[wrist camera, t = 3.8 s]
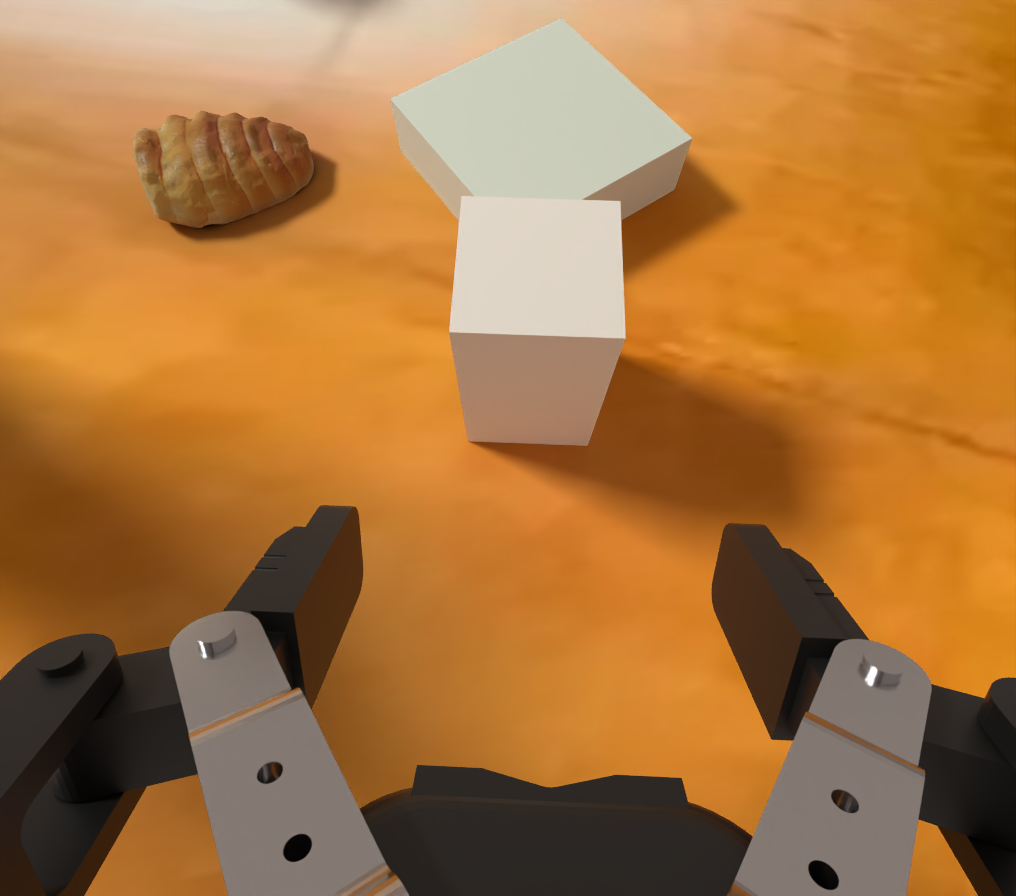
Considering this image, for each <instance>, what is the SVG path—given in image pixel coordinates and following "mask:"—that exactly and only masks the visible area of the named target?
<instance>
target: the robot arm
mask: <svg viewBox="0 0 1016 896" xmlns="http://www.w3.org/2000/svg"><path fill="white" fill-rule="evenodd" d="M362 580H363V559H362V548H361V536H360V524H359V514H358V510H357V508H356V507H352V506H328V505H321V506H320V507H319V508H318V509H317V511H316V512H315V514H314V515H313V517H312V518H311V520H310V521H309V523H308V524H307V526H306V527H293V528H292V529H290V530H289V531H287V532H286V533H284V534H283V535H281V536H280V537H278V538H277V539H275V540H274V542H273V543H272V545H271V546H270V547H269V549H268V550H267V552H266V553H265V554H264V558H261V560H260V561H259V563H258V564H257V565H256V567H255V570H253V571H252V572H251V574H250V575H249V576H248V578H247V579H246V580H245V582H244V583H243V585H242V586H241V587H240V589H239V590H238V592H237V593H236V594H235V596H234V597H233V598H232V600H231V601H230V603H229V604H228V605H227V607H226V608H225V609H224V611H223V612H219V613H214V614H211V615H208V616H205V617H202V618H200V619H198V620H196V621H194V622H192V623H191V624H189V625H188V626H186V627H185V628H184V629H182V630H181V631H180V632H179V633H178V634H177V635H176V637H175V638H174V639H173V641H172V643H171V645H170V647H166V648H161V649H156V650H151V651H145V652H139V653H134V654H128V655H123V656H118V655H117V652H116V648H115V645H114V643H113V642H112V640H111V639H109V638H108V637H106V636H104V635H99V634H79V635H73V636H69V637H65V638H62V639H59V640H56V641H53V642H51V643H49V644H46V645H44V646H42V647H40V648H38V649H37V650H35V651H33V652H32V653H30V654H29V655H27V656H26V657H25V658H23V659H22V660H21V661H20V662H19V663H17V664H16V665H15V666H14V667H13V668H12V669H11V670H10V671H9V672H8V673H7V674H6V675H5V676H4V677H3V678H2V679H1V680H0V896H84V895H85V893H86V891H87V890H88V888H89V886H90V885H91V883H92V881H93V879H94V878H95V876H96V874H97V872H98V871H99V869H100V867H101V865H102V864H103V862H104V860H105V858H106V857H107V855H108V853H109V851H110V850H111V848H112V846H113V844H114V843H115V841H116V839H117V837H118V836H119V834H120V832H121V830H122V829H123V827H124V825H125V824H126V822H127V820H128V818H129V817H130V815H131V813H132V811H133V810H134V808H135V806H136V804H137V803H138V801H139V799H140V797H141V796H142V794H143V792H144V790H145V789H146V787H147V786H150V785H154V784H158V783H162V782H166V781H170V780H175V779H179V778H183V777H187V776H191V775H195V774H198V775H199V779H200V783H201V787H202V791H203V795H204V799H205V803H206V807H207V811H208V815H209V820H210V824H211V828H212V832H213V836H214V840H215V844H216V848H217V852H218V856H219V860H220V864H221V868H222V872H223V876H224V880H225V884H226V889H227V893H228V896H906V892H907V886H908V880H909V873H910V867H911V861H912V855H913V849H914V843H915V837H916V830H917V824H918V819H919V820H922V821H925V822H928V823H931V824H934V825H937V826H938V828H939V829H940V831H941V833H942V834H943V836H944V838H945V840H946V841H947V843H948V845H949V846H950V848H951V850H952V851H953V853H954V855H955V857H956V858H957V860H958V862H959V863H960V865H961V867H962V869H963V870H964V872H965V874H966V875H967V877H968V879H969V881H970V882H971V884H972V886H973V887H974V889H975V891H976V892H977V894H978V896H1016V678H1001V679H998V680H996V681H994V682H993V683H992V685H991V687H990V689H989V691H988V693H987V695H986V697H985V698H981V697H977V696H973V695H969V694H966V693H962V692H958V691H954V690H951V689H947V688H943V687H939V686H936V685H933V684H931V682H930V680H929V678H928V676H927V674H926V673H925V672H924V671H923V669H922V668H921V667H920V666H919V665H918V664H917V663H915V662H914V661H913V660H912V659H910V658H909V657H907V656H906V655H904V654H903V653H901V652H899V651H897V650H896V649H893V648H891V647H889V646H887V645H884V644H881V643H878V642H874V641H870V640H869V639H868V638H867V636H866V635H865V634H864V632H863V631H862V630H861V628H860V627H859V626H858V624H857V623H856V622H855V621H854V619H853V618H852V617H851V615H850V614H849V613H848V611H847V610H846V609H845V607H844V606H843V605H842V603H841V602H840V601H839V599H838V598H837V597H834V593H833V592H832V590H831V589H830V588H829V586H828V585H827V584H826V583H824V580H823V578H822V577H821V576H820V575H819V573H818V572H817V571H816V569H815V568H814V567H813V565H812V564H811V563H810V562H808V561H807V560H806V559H804V558H803V557H801V556H800V555H798V554H797V553H796V552H794V551H793V550H791V549H785V548H782V547H781V546H780V544H779V543H778V542H777V540H776V539H775V537H774V536H773V535H772V533H771V532H770V530H769V529H768V528H767V527H766V526H765V525H759V524H735V523H729V524H727V525H726V526H725V528H724V530H723V534H722V539H721V543H720V548H719V553H718V558H717V563H716V567H715V572H714V577H713V582H712V603H713V608H714V611H715V613H716V616H717V618H718V620H719V622H720V625H721V627H722V629H723V631H724V634H725V636H726V638H727V640H728V643H729V645H730V647H731V649H732V652H733V654H734V656H735V658H736V661H737V663H738V665H739V667H740V670H741V672H742V674H743V676H744V679H745V681H746V683H747V685H748V688H749V690H750V692H751V694H752V697H753V699H754V701H755V703H756V706H757V708H758V710H759V712H760V715H761V717H762V719H763V721H764V724H765V726H766V728H767V730H768V733H769V735H770V737H771V739H772V740H793V743H792V745H791V747H790V750H789V752H788V755H787V757H786V759H785V762H784V764H783V766H782V769H781V771H780V774H779V776H778V778H777V781H776V783H775V785H774V788H773V790H772V793H771V795H770V797H769V800H768V802H767V805H766V807H765V809H764V812H763V814H762V816H761V819H760V821H759V824H758V826H757V828H756V831H755V833H754V835H753V837H752V836H751V835H750V834H749V833H747V832H746V831H745V830H743V829H742V828H740V827H739V826H737V825H736V824H734V823H733V822H731V821H730V820H728V819H726V818H724V817H722V816H720V815H719V814H717V813H715V812H713V811H711V810H708V809H706V808H703V807H701V806H699V805H696V804H693V803H690V802H688V801H687V797H686V793H685V789H684V785H683V781H682V778H669V777H649V776H628V775H613V776H608V777H604V778H599V779H594V780H589V781H584V782H579V783H574V784H569V785H564V786H559V787H553V788H550V787H543V786H539V785H536V784H533V783H529V782H526V781H523V780H519V779H516V778H513V777H509V776H506V775H503V774H499V773H496V772H492V771H489V770H486V769H482V768H466V767H445V766H425V765H417V768H416V773H415V779H414V784H413V788H408V789H404V790H400V791H397V792H394V793H391V794H388V795H385V796H383V797H381V798H379V799H376V800H374V801H372V802H370V803H368V804H367V805H365V806H363V807H362V808H360V809H359V807H358V805H357V803H356V801H355V799H354V797H353V795H352V793H351V791H350V789H349V787H348V785H347V783H346V780H345V778H344V776H343V774H342V772H341V770H340V768H339V766H338V764H337V762H336V760H335V758H334V756H333V754H332V752H331V750H330V748H329V746H328V744H327V741H326V739H325V737H324V735H323V733H322V731H321V729H320V727H319V725H318V723H317V721H316V719H315V717H314V715H313V713H312V711H311V709H312V707H313V704H314V702H315V700H316V697H317V695H318V693H319V690H320V688H321V685H322V683H323V681H324V678H325V676H326V673H327V671H328V669H329V666H330V664H331V661H332V659H333V657H334V654H335V652H336V649H337V647H338V645H339V642H340V640H341V637H342V635H343V633H344V630H345V628H346V625H347V623H348V621H349V618H350V616H351V613H352V611H353V609H354V606H355V604H356V602H357V599H358V597H359V594H360V591H361V586H362Z"/></svg>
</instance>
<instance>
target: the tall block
mask: <svg viewBox="0 0 1016 896" xmlns="http://www.w3.org/2000/svg"><path fill="white" fill-rule="evenodd" d="M449 334H450V339H451V345H452V351H453V357H454V363H455V369H456V374H457V380H458V386H459V392H460V398H461V404H462V409H463V415H464V421H465V427H466V433H467V439H468V441H473V442H500V443H526V444H552V445H579V446H588V444H589V441H590V438H591V435H592V432H593V430H594V427H595V424H596V421H597V418H598V415H599V412H600V410H601V407H602V404H603V401H604V398H605V395H606V393H607V390H608V387H609V384H610V381H611V378H612V375H613V373H614V370H615V367H616V364H617V361H618V358H619V356H620V353H621V350H622V347H623V344H624V341H625V312H624V285H623V258H622V231H621V204H620V201H604V200H573V199H542V198H511V197H479V196H461V207H460V219H459V230H458V241H457V252H456V263H455V274H454V285H453V296H452V307H451V318H450V330H449Z"/></svg>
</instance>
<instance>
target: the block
mask: <svg viewBox="0 0 1016 896" xmlns="http://www.w3.org/2000/svg"><path fill="white" fill-rule="evenodd" d="M390 100H391V105H392V110H393V115H394V120H395V124H396V129H397V134H398V139H399V144H400V149H401V152H402V153H403V155H404V156H405V157H406V158H407V159H408V161H409V162H410V163H411V164H412V165H413V167H414V168H415V169H416V170H417V171H418V173H419V174H420V175H421V176H422V177H423V179H424V180H425V181H426V182H427V183H428V185H429V186H430V187H431V188H432V189H433V191H434V192H435V193H436V194H437V195H438V197H439V198H440V199H441V200H442V201H443V203H444V204H445V205H446V206H447V207H448V209H449V210H450V211H451V212H452V213H453V215H454V216H455V217H456V218H457V219H458V221H459V219H460V207H461V196H479V197H511V198H542V199H573V200H604V201H620V204H621V220H623V219H625V218H626V217H628V216H630V215H631V214H633V213H635V212H637V211H638V210H640V209H642V208H644V207H645V206H647V205H649V204H651V203H652V202H654V201H656V200H658V199H659V198H661V197H663V196H665V195H666V194H668V193H670V192H672V191H673V190H675V187H676V184H677V182H678V179H679V176H680V173H681V170H682V167H683V164H684V161H685V158H686V155H687V152H688V149H689V146H690V144H691V141H692V138H691V137H690V136H689V135H688V134H687V133H686V132H685V131H684V130H683V129H682V128H681V127H679V126H678V125H677V124H676V123H675V122H674V121H673V120H672V119H671V118H670V117H669V116H668V115H666V114H665V113H664V112H663V111H662V110H661V109H660V108H659V107H658V106H657V105H656V104H654V103H653V102H652V101H651V100H650V99H649V98H648V97H647V96H646V95H645V94H644V93H642V92H641V91H640V90H639V89H638V88H637V87H636V86H635V85H634V84H633V83H632V82H630V81H629V80H628V79H627V78H626V77H625V76H624V75H623V74H622V73H621V72H620V71H618V70H617V69H616V68H615V67H614V66H613V65H612V64H611V63H610V62H609V61H608V60H607V59H605V58H604V57H603V56H602V55H601V54H600V53H599V52H598V51H597V50H596V49H595V48H593V47H592V46H591V45H590V44H589V43H588V42H587V41H586V40H585V39H584V38H583V37H581V36H580V35H579V34H578V33H577V32H576V31H575V30H574V29H573V28H572V27H571V26H569V25H568V24H567V23H566V22H565V21H564V20H563V19H562V18H560V19H558V20H556V21H554V22H551V23H549V24H547V25H545V26H543V27H541V28H539V29H537V30H535V31H532V32H530V33H528V34H526V35H524V36H522V37H520V38H518V39H515V40H513V41H511V42H509V43H507V44H505V45H503V46H501V47H499V48H496V49H494V50H492V51H490V52H488V53H486V54H484V55H482V56H479V57H477V58H475V59H473V60H471V61H469V62H467V63H465V64H463V65H460V66H458V67H456V68H454V69H452V70H450V71H448V72H446V73H443V74H441V75H439V76H437V77H435V78H433V79H431V80H429V81H426V82H424V83H422V84H420V85H418V86H416V87H414V88H412V89H410V90H407V91H405V92H403V93H401V94H399V95H397V96H395V97H393V98H390Z"/></svg>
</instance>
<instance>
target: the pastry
mask: <svg viewBox="0 0 1016 896" xmlns="http://www.w3.org/2000/svg"><path fill="white" fill-rule="evenodd" d="M133 147H134V151H133V155H134V159H135V161H136V164H137V166H138V169H139V173H138V174H139V176H140V179H141V182H142V184H143V187H144V190H145V192H146V195H147V198H148V200H149V202H150V204H151V206H152V208H153V209H154V213H155V215H156V216H157V217H158V218H159V219H161V220H164V221H168V222H172V223H176V224H181V225H186V226H189V227H194V228H203V226H205V225H209V224H221V225H223V224H227V223H230V222H232V221H235V220H240V219H242V218H243V217H245V216H248V215H252V214H256V213H258V212H259V211H262V210H264V209H267V208H269V207H271V206H274V205H276V204H278V203H281V202H283V201H285V200H287V199H289V198H291V197H293V196H294V195H295V194H296V193H297V192H298V191H299V190H300V189H301V188H303V187H304V186H306V185H307V184H308V183H309V182H310V180H311V177H312V175H313V173H314V165H313V159H312V156H311V153H310V150H309V146H308V141H307V139H306V136H305V135H304V134H303V133H301V132H299V131H296V130H294V129H293V128H292V127H289V126H286V125H284V124H281V123H275V122H270V121H269V120H268V119H267V118H264V117H257V118H251V119H247V118H245V117H243V116H241V115H239V114H238V113H231V114H229V115H226V116H223V117H222V116H220V115H216V114H211V113H208V112H205V111H200V112H198V113H197V114H196V116H195V117H194V118H193V119H192V120H190V119H188V118H186V117H183V116H178V115H171V116H168V117H167V118H166V119H165V122H164V124H163V126H162V128H160V129H147V128H141V129H140V130H139V131H137V132H136V133H135V137H134V144H133Z"/></svg>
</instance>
